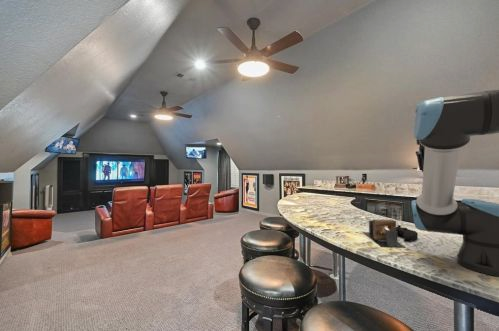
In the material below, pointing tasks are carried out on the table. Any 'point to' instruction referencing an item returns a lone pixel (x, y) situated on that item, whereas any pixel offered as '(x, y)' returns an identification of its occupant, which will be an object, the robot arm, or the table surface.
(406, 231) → the gaming controller
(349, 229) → the table surface
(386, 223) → the collar
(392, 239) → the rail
